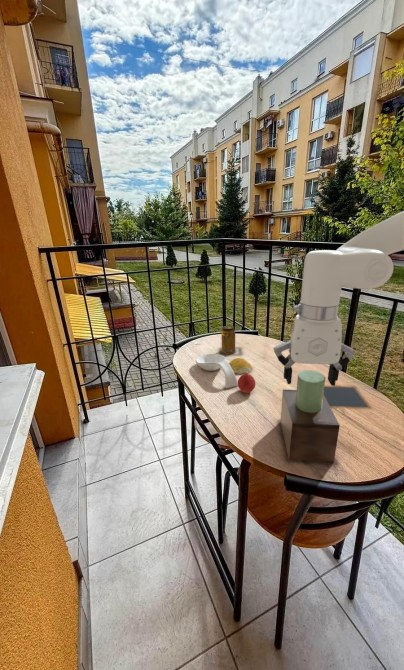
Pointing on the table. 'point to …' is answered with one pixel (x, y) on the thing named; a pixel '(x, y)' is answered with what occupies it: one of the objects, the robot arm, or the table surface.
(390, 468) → the table surface
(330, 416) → the brown block
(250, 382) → the onion
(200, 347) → the table surface
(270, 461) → the table surface
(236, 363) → the bread roll
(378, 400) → the table surface
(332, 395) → the mat
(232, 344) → the condiment
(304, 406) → the tea tin
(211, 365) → the spoon rest
